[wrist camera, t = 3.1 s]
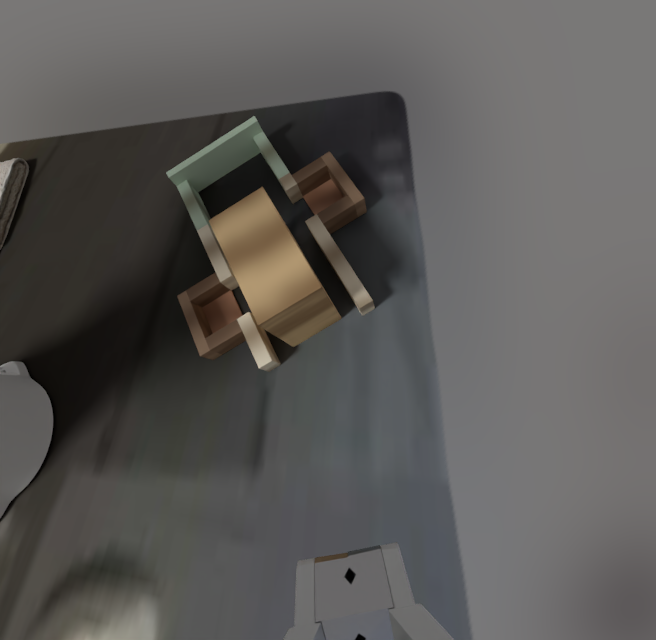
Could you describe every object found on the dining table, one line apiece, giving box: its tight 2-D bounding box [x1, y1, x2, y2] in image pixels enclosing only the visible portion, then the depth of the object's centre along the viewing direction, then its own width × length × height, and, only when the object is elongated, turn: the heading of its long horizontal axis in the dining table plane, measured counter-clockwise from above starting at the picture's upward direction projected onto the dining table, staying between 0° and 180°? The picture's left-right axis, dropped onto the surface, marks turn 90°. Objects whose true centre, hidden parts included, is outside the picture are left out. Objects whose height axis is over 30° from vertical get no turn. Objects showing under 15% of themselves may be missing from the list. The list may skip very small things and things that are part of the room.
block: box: [209, 187, 342, 347], centre depth 32 cm, size 12×6×9 cm, turn 28°
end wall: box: [166, 116, 262, 192], centre depth 42 cm, size 1×13×4 cm, turn 119°
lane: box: [177, 131, 375, 371], centre depth 37 cm, size 27×23×2 cm
